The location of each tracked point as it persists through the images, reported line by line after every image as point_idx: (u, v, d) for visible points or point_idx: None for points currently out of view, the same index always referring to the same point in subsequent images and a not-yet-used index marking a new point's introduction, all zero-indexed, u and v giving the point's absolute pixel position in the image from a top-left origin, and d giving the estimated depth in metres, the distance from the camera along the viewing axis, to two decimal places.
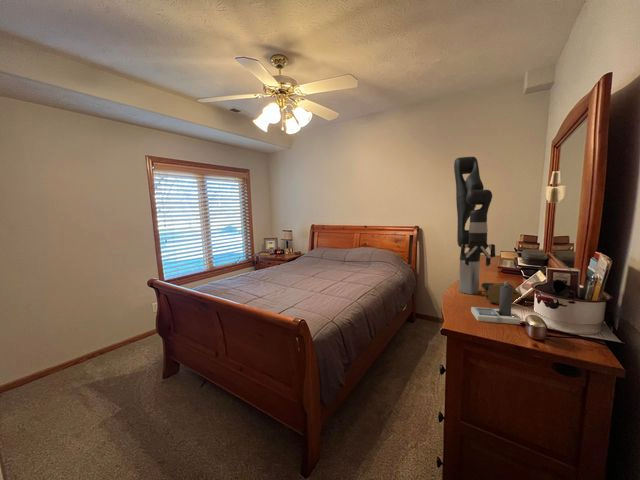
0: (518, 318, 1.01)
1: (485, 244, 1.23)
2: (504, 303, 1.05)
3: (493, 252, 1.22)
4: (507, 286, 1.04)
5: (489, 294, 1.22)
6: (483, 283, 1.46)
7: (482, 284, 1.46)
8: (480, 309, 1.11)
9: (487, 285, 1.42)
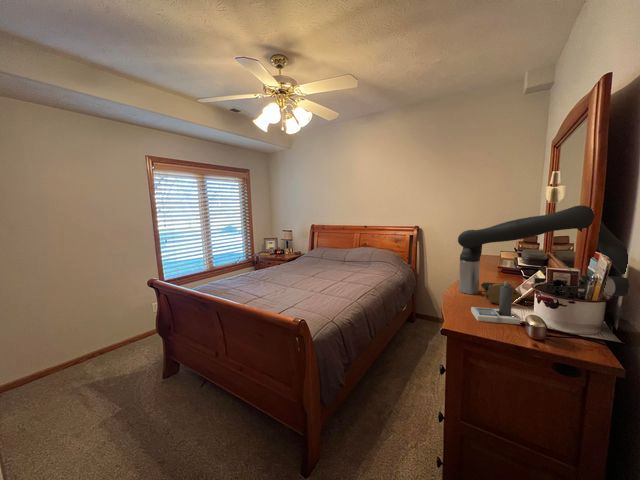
0: (518, 318, 1.01)
1: None
2: (504, 303, 1.05)
3: None
4: (507, 286, 1.04)
5: (489, 294, 1.22)
6: (483, 283, 1.46)
7: (482, 284, 1.47)
8: (480, 309, 1.11)
9: (487, 285, 1.42)
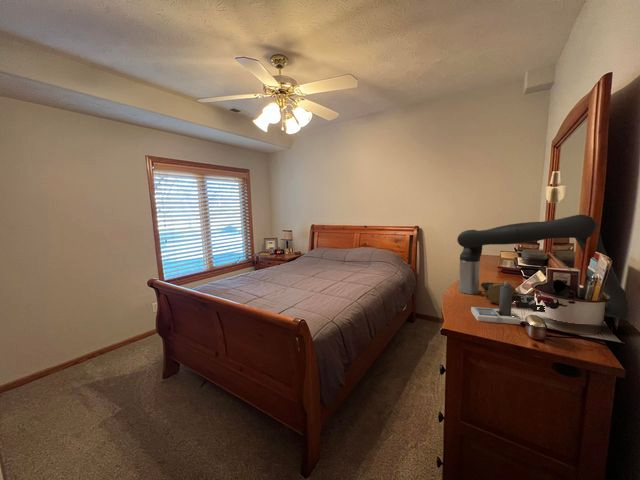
0: (518, 318, 1.01)
1: None
2: (504, 303, 1.05)
3: None
4: (507, 286, 1.04)
5: (489, 294, 1.22)
6: (482, 283, 1.47)
7: (481, 284, 1.47)
8: (480, 309, 1.11)
9: (486, 285, 1.42)
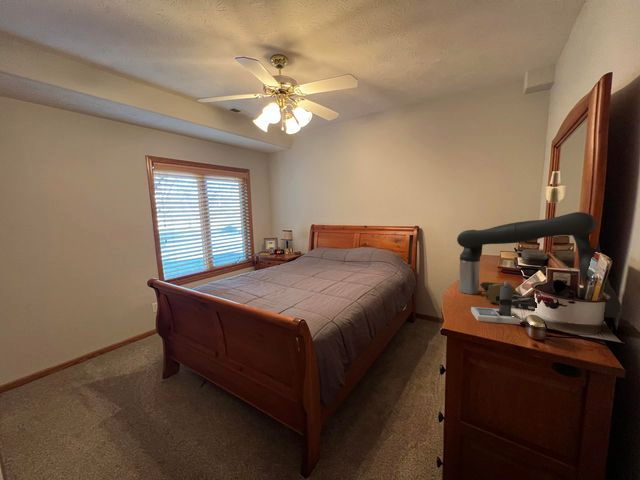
0: (518, 318, 1.01)
1: None
2: None
3: None
4: (507, 286, 1.04)
5: (489, 294, 1.22)
6: None
7: (481, 283, 1.47)
8: (480, 309, 1.11)
9: (486, 284, 1.43)
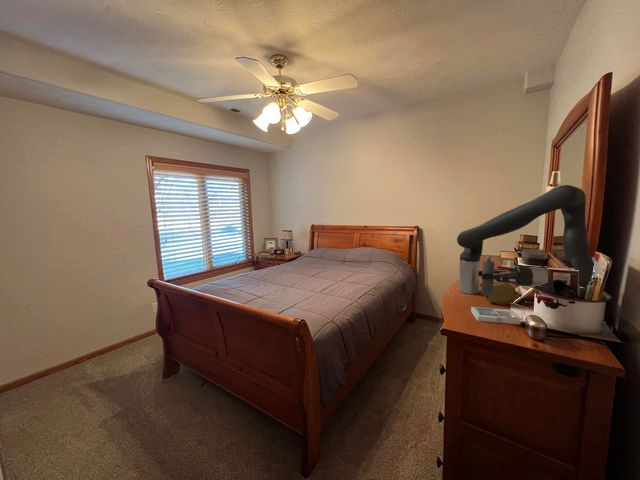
0: (518, 318, 1.01)
1: None
2: None
3: None
4: (489, 260, 1.05)
5: None
6: None
7: (481, 283, 1.48)
8: (480, 309, 1.11)
9: None
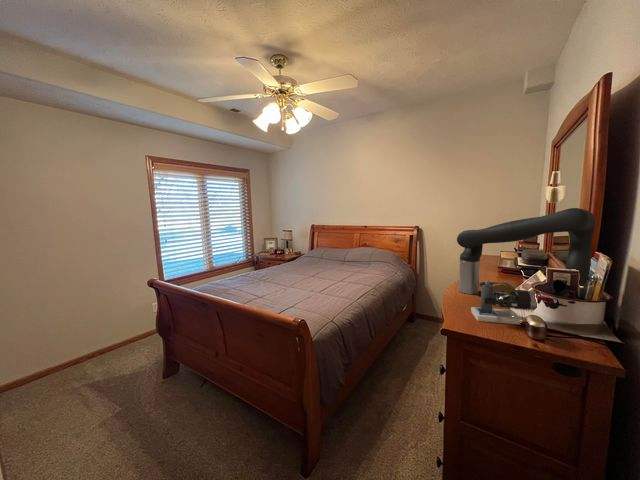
0: (518, 318, 1.01)
1: None
2: None
3: None
4: (488, 285, 1.06)
5: None
6: (481, 282, 1.48)
7: (480, 283, 1.48)
8: (480, 309, 1.11)
9: None
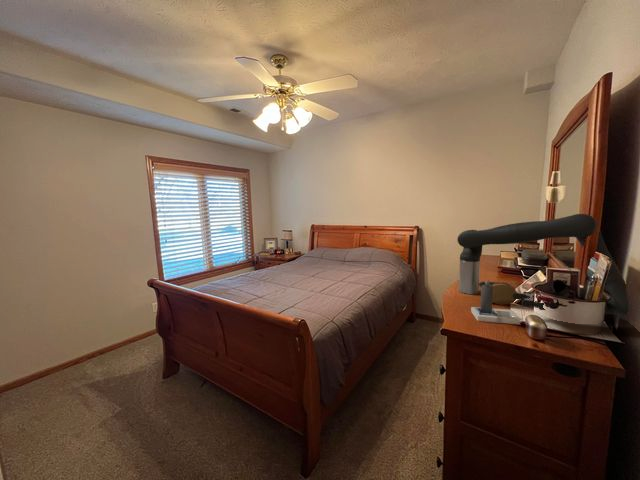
0: (518, 318, 1.01)
1: None
2: (485, 301, 1.06)
3: None
4: (488, 285, 1.06)
5: None
6: (481, 282, 1.48)
7: (480, 283, 1.48)
8: None
9: None
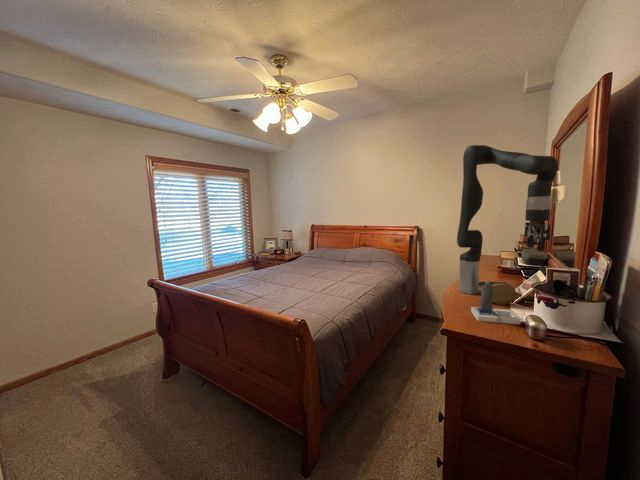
0: (518, 318, 1.01)
1: None
2: (485, 301, 1.06)
3: None
4: (488, 285, 1.06)
5: None
6: (480, 282, 1.49)
7: (479, 283, 1.49)
8: (480, 309, 1.11)
9: (484, 284, 1.44)
